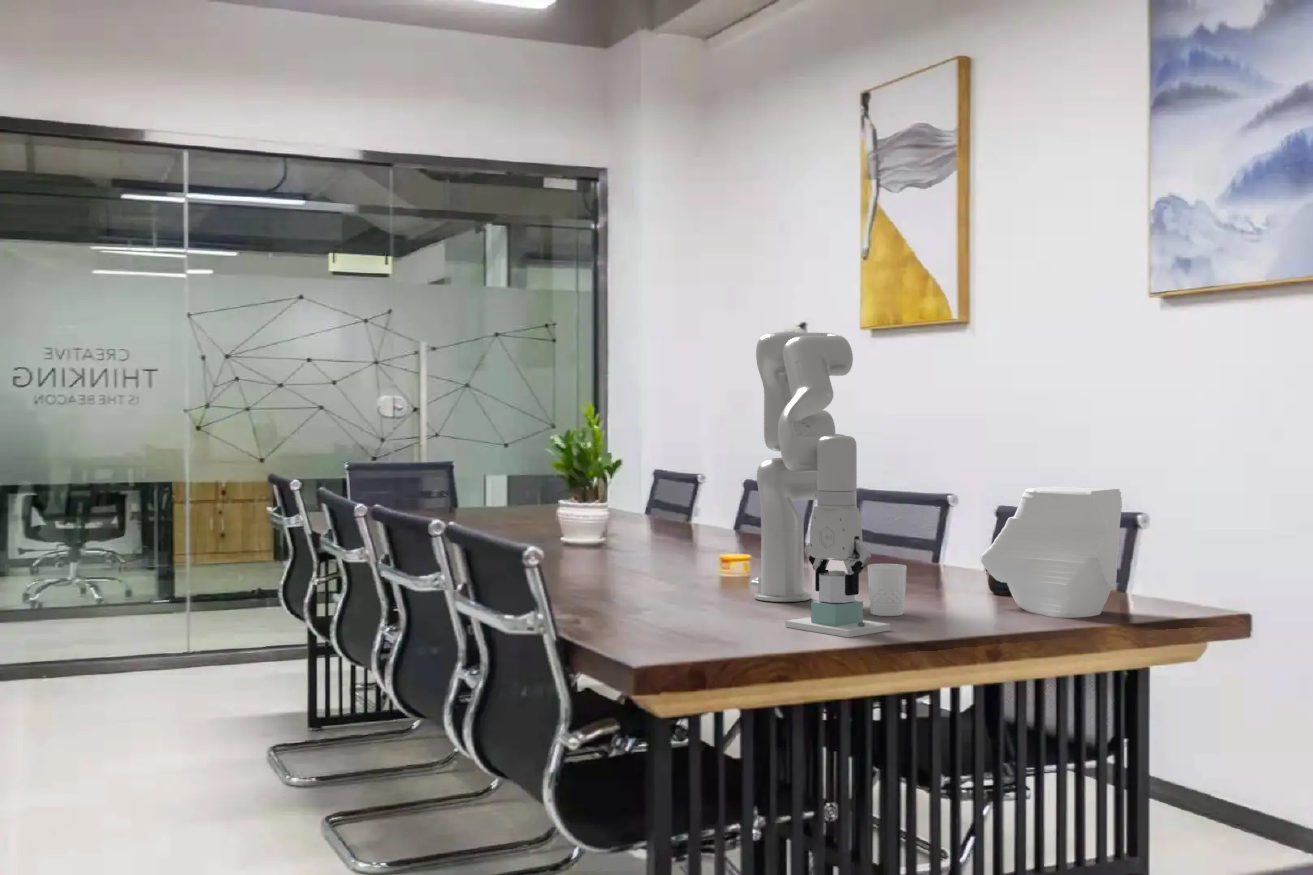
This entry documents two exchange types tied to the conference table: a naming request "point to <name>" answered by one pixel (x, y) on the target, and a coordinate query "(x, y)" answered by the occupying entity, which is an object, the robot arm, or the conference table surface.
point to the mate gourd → (998, 586)
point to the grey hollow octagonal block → (833, 589)
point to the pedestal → (837, 618)
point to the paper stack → (1059, 550)
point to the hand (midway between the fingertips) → (836, 592)
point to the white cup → (887, 589)
